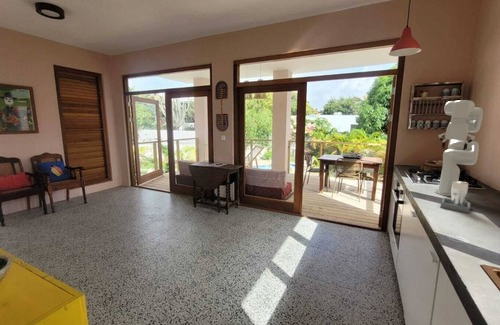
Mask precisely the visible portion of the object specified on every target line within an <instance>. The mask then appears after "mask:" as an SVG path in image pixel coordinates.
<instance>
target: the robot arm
mask: <svg viewBox="0 0 500 325" xmlns="http://www.w3.org/2000/svg"><path fill="white" fill-rule="evenodd" d="M443 111H444V114H445V115H447V116H451V118H450V122H449V123H448V125H447V127H446V131H445V132H443V133H441V134H438V135H437V137H438V139H439V141H441V148H442V149H443V150H444V149H446V144H447V142H446V141H448V140H449V141H448V146H447V149H446V150H444V151H443V153H442V168H441V174H440V179H439V185H438V189H435V193H436V194H438V195H442V196H448V197H451V189H452V184H453V181H459V178H460V173H461V169H460V167H459V166H458V165H464V166H466V165H467V166H473V165H474V166H475V164H477V161H478V158H479V150H480V146H479V143H478V142H477V141H476V140H475V139H476V136H475V135H472V134H473V133H478V132H480V129H481V126H482V121H483V117H484V116H483V115H484V111H483V108H481V107H476V104H475V103H474V101H473V100H468V99H466V100H465V99H460V100H450V101H447V102H446V103H445V104H444V107H443ZM470 133H472V134H470ZM442 136H444V138H443V137H442ZM468 137H469V138H470V139H469V140H467V138H468Z"/></svg>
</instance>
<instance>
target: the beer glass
mask: <svg viewBox="0 0 500 325" xmlns="http://www.w3.org/2000/svg"><path fill="white" fill-rule="evenodd" d="M468 190H469V183H468V182H466V181H461V180H458V181H453V184H452V189H451V196H450V199H451V202H450V204H453V205H458V206H462V207H463V202H464V201H465V198H466V195H467V193H468Z"/></svg>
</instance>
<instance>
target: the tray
mask: <svg viewBox="0 0 500 325" xmlns="http://www.w3.org/2000/svg"><path fill="white" fill-rule="evenodd" d="M450 202H451V198H447V197H442V200H441V203H440V206H439V207H440V208H441V209H444V210H445V209H446V210H451V211H455V212H459V213H464V214H470V209H471V202H468V201H463V207H462V206H458V205H453V204H450Z"/></svg>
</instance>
